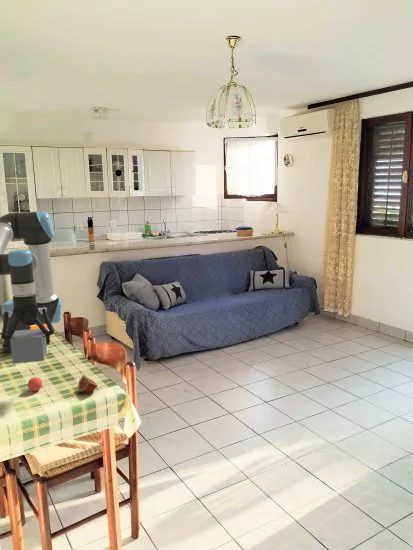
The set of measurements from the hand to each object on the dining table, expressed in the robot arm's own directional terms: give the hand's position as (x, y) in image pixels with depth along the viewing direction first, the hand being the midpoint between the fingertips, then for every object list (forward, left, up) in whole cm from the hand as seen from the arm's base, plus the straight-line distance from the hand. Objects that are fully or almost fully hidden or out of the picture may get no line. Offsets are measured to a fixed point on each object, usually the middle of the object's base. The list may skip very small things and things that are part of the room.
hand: (30, 355), depth 160 cm
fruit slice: (+4, +19, -15) cm, 24 cm away
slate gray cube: (0, 0, -1) cm, 1 cm away
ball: (-2, 0, -12) cm, 12 cm away
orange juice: (-77, -9, -15) cm, 79 cm away
